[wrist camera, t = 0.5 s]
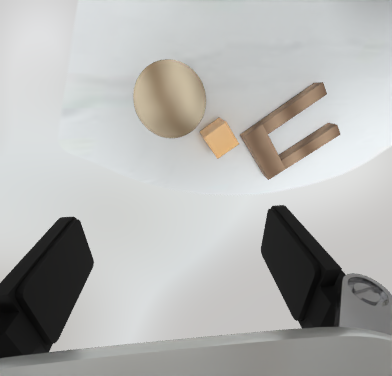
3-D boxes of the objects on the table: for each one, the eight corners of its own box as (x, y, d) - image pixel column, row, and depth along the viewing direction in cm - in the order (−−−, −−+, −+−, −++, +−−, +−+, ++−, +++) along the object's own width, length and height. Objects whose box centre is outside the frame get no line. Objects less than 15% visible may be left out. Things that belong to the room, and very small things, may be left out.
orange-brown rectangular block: (218, 117, 38) (226, 121, 32) (230, 136, 40) (239, 143, 34) (199, 131, 39) (203, 138, 33) (212, 149, 40) (217, 158, 35)
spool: (176, 57, 33) (177, 40, 22) (206, 105, 37) (219, 110, 26) (135, 91, 35) (117, 92, 24) (167, 134, 38) (164, 151, 27)
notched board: (314, 82, 37) (323, 82, 34) (331, 132, 41) (340, 134, 39) (240, 134, 40) (243, 137, 37) (263, 175, 44) (268, 179, 42)
